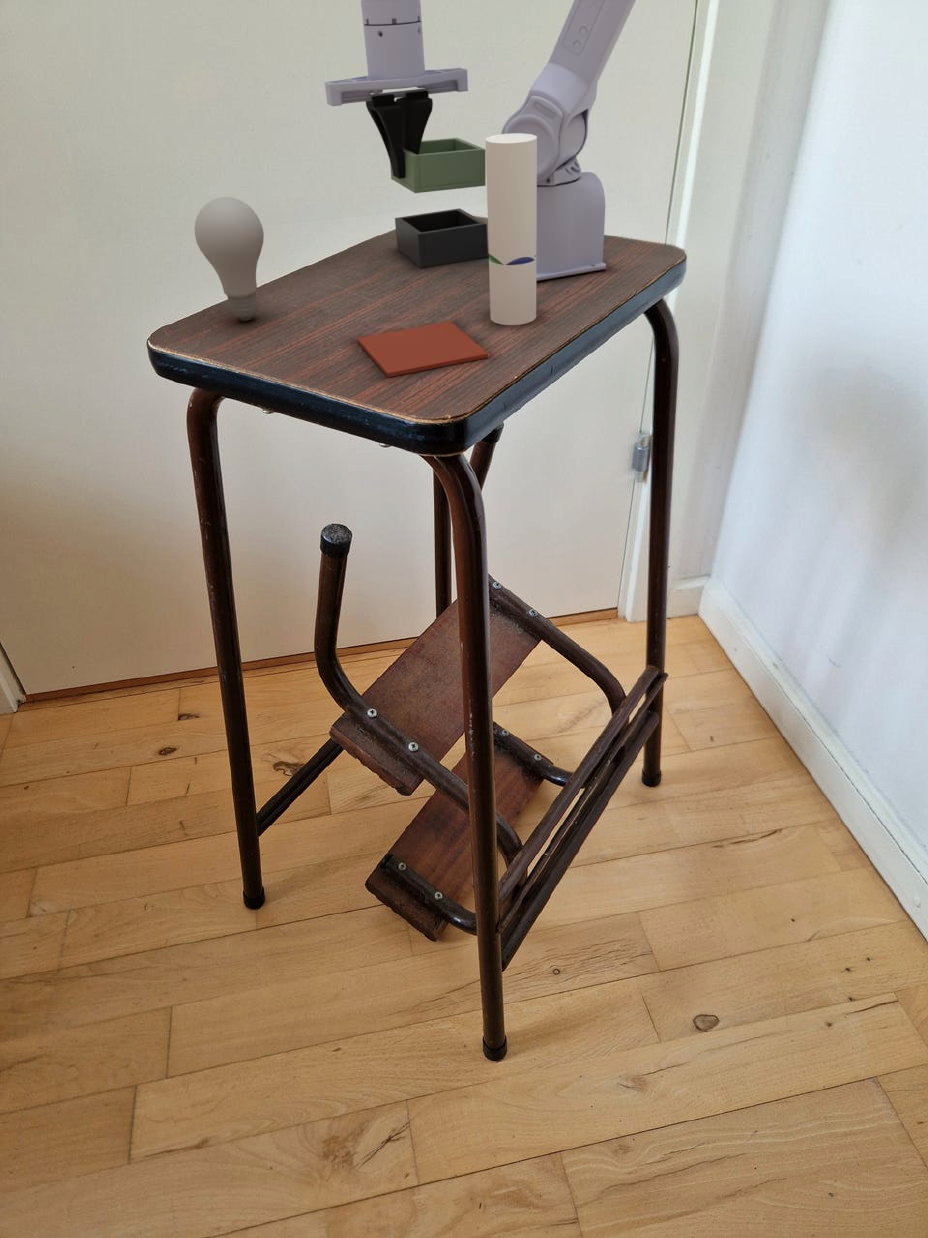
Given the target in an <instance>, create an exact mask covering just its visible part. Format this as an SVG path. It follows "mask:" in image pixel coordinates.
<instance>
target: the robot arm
mask: <svg viewBox="0 0 928 1238" xmlns="http://www.w3.org/2000/svg"><path fill="white" fill-rule="evenodd" d="M636 1H637V0H573V2H572V4H571V7H570V10H569V12H568V14H567V16H566V19H565V21H564V24H563V26H562V28H561V31H560V33H559V35H558V37H557V40H556V42H555V45H554V47H553V49H552V51H551V54H550V57H549V59H548V62H546V65H545V66H544V67H543V69H542V71H541V72H540V74H539V75H538V77H537V78H536V80H534V82H533V84H532V85H531V87H530V88H529V90H528V93H527V96H526V98H525V100H524V102H523V103H522V104H521V106H520V107H519V108H518V109H517V110H516V111H515V112H514V113H513V114H512V115H511V116H509V117H508V119H507V120H506V122H505V123H504V124H503V127H502V130H501V132H500V134H511V133H523V134H532V135H535V136H537V242H536V282H539V281H545V280H550V279H555V278H562V277H566V276H572V275H579V274H584V273H589V272H595V271H601V270H605V269H607V264H606V263H605V262H604V244H605V243H604V242H605V225H606V224H605V222H606V197H605V196H606V195H605V190H604V186H603V183H602V180H601V179H600V177H599V176H598V175H597V174H596V173H594V172H591V171H582V168H581V166H580V164H579V160H578V158H577V157H578V155H580V153H581V152H582V151H583V149H584V147H585V145H586V142H587V140H588V134H589V120H590V119H589V118H590V113H591V110H592V108H593V106H594V105H595V102H596V100H597V92H598V83H599V80H600V79H601V77H602V74H603V72H604V70H605V67H606V65H607V63H608V61H609V60H610V57H611V55H612V53H613V50H614V49H615V46H616V45H617V42H618V40H619V38H620V36H621V33H622V32H623V29H624V27H625V25H626V23H627V21H628V18H629V16H630V14H631V12H632V10H633V8H634V5H635V4H636ZM421 4H422V3H421V0H360V5H361V15H362V16H361V17H362V24H363V25H362V26H363V36H364V37H363V38H364V48H365V57H366V66H367V68H366V69H367V75H362V76H356V77H351V78H345V79H337V80H331V81H330V80H329V81H324V89H325V96H326V104H327V105H328V106H331V107H340V106H342V105H345V104H355V103H364V102H365V107H366V109H367V111H368V113H369V115H370V116H371V119H372V120H373V123H374V124H375V127H376V129H377V130H378V133H379V135H380V137H381V139H382V143H383V144H384V147H385V150H386V153H387V156H388V159H389V164H390V163H391V167H392V171H393V176H395V177H397V178H398V179H402V178H405V161H404V153H403V148H404V149H406V150H408V151H410V152H412V153H414V154H416V155H417V154H419V151H420V146H421V141H423V137H424V133H425V130H426V128H427V125H428V122H429V119H430V116H431V114H432V112H433V108H434V103H433V102H434V101H433V98H432V97H430V95H436V94H444V93H453V92H458V93H463V92H468V91H469V82H468V81H469V80H468V79H469V78H468V69H467V68H464V67H463V68H462V67H453V68H452V67H451V68H441V69H426V67H425V66H426V65H425V63H426V62H425V49H424V48H425V47H424V34H423V33H424V32H423V21H422V19H423V18H422V7H421V6H422V5H421ZM410 88H415V89H410ZM401 89H406V90H401ZM387 90H396V91H389V92H388V91H387ZM384 91H387V92H384ZM391 167H390V168H391Z"/></svg>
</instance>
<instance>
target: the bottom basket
mask: <svg viewBox="0 0 928 1238" xmlns="http://www.w3.org/2000/svg"><path fill="white" fill-rule="evenodd" d="M394 225H395V235H396V247H397V251H398V252H400V253H401V254H402V255H403V256H405V257H406V258H407V259H409V260H410V261H411V262H412V263H414V264H415V265H416V266H418V267H419V268H420V269H422V268H423V269H424V268H429V267H435V266H436V267H437V266H441V265H446V264H447V265H449V264H453V263H459V262H465V261H471V260H477V259H483V258H488V256H489V248H488V223H486V222H484V221H483V220H481V219H479V218H477V217H476V216H474V215H472V214H471V213H469V212H467V211H465V210H464V209H462V208H453V209H452V208H451V209H447V210H439V211H432V212H426V213H420V214H419V213H418V214H412V215H405V216H400V217H394Z"/></svg>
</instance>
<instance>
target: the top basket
mask: <svg viewBox="0 0 928 1238" xmlns="http://www.w3.org/2000/svg"><path fill="white" fill-rule="evenodd" d="M403 153H404V161H405V178H402V179H398V178H397V177H395V176H393V171H392V167H391V163H390V162H389V166H390V179H391V180H393V181H394V182H396V183H397V184H399V185H401V186H402V187H403V188H406V189H407V190H409V191H410V192H411V193H412V192H413V193H414V194H421V193H431V192H441V191H450V190H459V189H468V188H469V189H470V188H477V187H487V173H486V148H484V147H481V146H478V145H476V144H474V143H471V142H469V141H466V140H464V139H462V138H459V137H450V138H438V139H437V138H436V139H428V140H427V139H426V140H422V141H421V146H420V151H419V154H417V155H416V154H414V153H412V152H410V151H408V150H406V149H404V148H403Z"/></svg>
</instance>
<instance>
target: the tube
mask: <svg viewBox="0 0 928 1238" xmlns="http://www.w3.org/2000/svg"><path fill="white" fill-rule="evenodd" d="M485 153H486V197H487V198H486V201H487V202H486V204H487V207H486V208H487V245H488V256H489V258H488V273H489V274H488V275H489V276H488V277H489V310H490V311H489V312H490V314H489V315H490V320H491V321H492V322H493V323H494V324H498V325H502V326H520V325H525V324H529V323H531V322H533V321H535V320H536V319H537V281H536V242H537V136H535V135H532V134H523V133H511V134H501V133H500V134H494V135H490V136H488V137H486V138H485Z"/></svg>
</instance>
